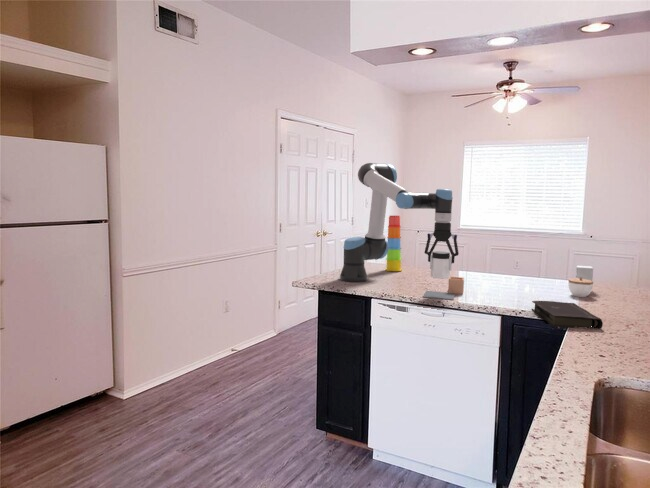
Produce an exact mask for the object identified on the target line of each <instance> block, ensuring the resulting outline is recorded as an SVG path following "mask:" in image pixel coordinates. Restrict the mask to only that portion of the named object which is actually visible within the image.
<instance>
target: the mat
mask: <svg viewBox="0 0 650 488" xmlns="http://www.w3.org/2000/svg"><path fill="white" fill-rule="evenodd" d="M455 296H456V293H448V291H447V292H445V291H435V290H434V291H433V290H425V292H424V294H423V295H422V298H426V299H427V298H428V299H437V300H438V299H439V300H450V301H454V298H455Z"/></svg>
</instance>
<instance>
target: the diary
mask: <svg viewBox="0 0 650 488" xmlns="http://www.w3.org/2000/svg"><path fill="white" fill-rule="evenodd" d="M531 302H532V303H533V304H534V309H533V308H531V311H532V312H533V313H535V315H536V316H537V317H540V318H541V319H542V320H543V321H545V322H547V324H548V325H549V326H550V327H552V328H569V329H572V328H573V329H574V328H579V327H591V326H592V327H595V328H597V327H599V328H601V329H602V328H603V325H604V324H603V319H602V318H600V317H598V316H596V315H595V314H592V312H590V311H588V310H586V309H584V308H582V307H580V306H579V305H578V304H576V303H575V302H565V301H564V302H562V301H561V302H560V301H553V300H532V301H531ZM596 326H597V327H596ZM592 327H591V328H592ZM599 328H598V329H599Z"/></svg>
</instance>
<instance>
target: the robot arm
mask: <svg viewBox="0 0 650 488" xmlns="http://www.w3.org/2000/svg"><path fill="white" fill-rule="evenodd" d="M357 178H358V181H359V182H360V184H362V185H364V186H365V187H367V188H370V189H371V191H372V192H371V201H370V202H371V203H370V213H369V222H368V230H367V233H365V234H364V237H363V236H355V237H354V236H353V237H348V238H346V239H345V240H344V241H343V242H344V243H343V266H342V269H341V272H340V275H339V280H341V281H343V282H347V283H348V282H350V283H362V282H367V280H368V275H367V271H366V268H365V261H370V260H371V261H372V260H373V261H374V260H375V261H376V260H381V259H384V258H385V257H387V253H388V249H389V245H388V239H386V236H385V234H384V230H385V221H386V211H387V204H388V199H390V200H392V201H394V203H395V205H396V206H397V207H398V208H399V209H403V210H413V209H414V210H415V209H416V210H418V209H423V210H424V209H425V210H426V209H428V210H429V209H430V210H431V209H432V210H434V212H435V213H434V221H435V222H434V230H433V232H432V233H431V232H430V233H427V240H426V245H425V248H424V254H425V255H427V261H428V262H429V269H430V270H431V269H432V252H434V250H435V248H436V246H437V244H438V243H441V242H443V243H445V244H446V246H447V248H448V250H449V253H450V269H449V270H450V271H452V268H453V264H455V257H457V256H459V254H460V253H459V247H458V241H457V240H458V239H457V238H458V234H457V233H456V234H454V233H452V229H451V228H452V223H451V222H452V213H453V212H452V208H453V191H452V189H449V188H448V189H445V188H443V189H441V188H438V189H436V190H435V193H433V192H431V193H430V192H410V191H409V190H407V189H405V188H404V187H402V186H400V185H398V184H397V183H396V182H397V179H398V173H397V170H396V169H395V167H394V166H393V164H389V163H376V162H374V163H373V162H367V163H365V164H363V165H361V166H360V168H359V169H358V172H357ZM433 237H434V239H435V240H434V242H433V244H432V246H431V248H430V243H431V239H432V238H433ZM451 237H452V239H453V244H454V245H453V246H454V250H453V248H452V245H451V243H450V240H449V239H450V238H451ZM429 249H430V250H429Z"/></svg>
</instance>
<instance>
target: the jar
mask: <svg viewBox="0 0 650 488" xmlns="http://www.w3.org/2000/svg"><path fill="white" fill-rule="evenodd" d="M431 255H432V269H430V277H431V278H433V279H440V280H445V279H449V278H450V270H449V269H450V256H451V253H450V251H449V252H448V251H440V250H439V251H433V252H432V253H431Z"/></svg>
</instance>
